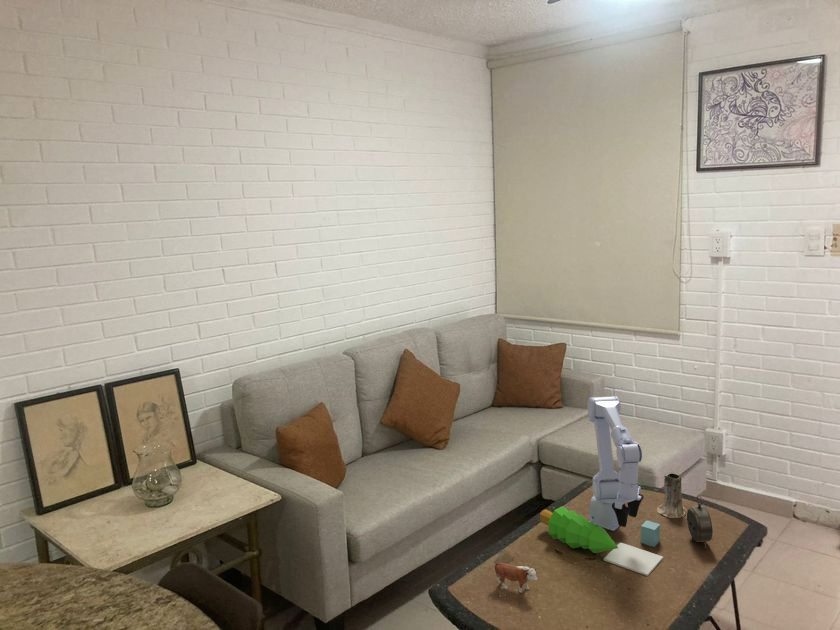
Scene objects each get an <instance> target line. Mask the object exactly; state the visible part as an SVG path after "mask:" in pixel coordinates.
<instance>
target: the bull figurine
mask: <svg viewBox="0 0 840 630" xmlns="http://www.w3.org/2000/svg"><path fill="white" fill-rule="evenodd" d="M536 570H537V567H535V568H532V567H531V568H530V567H528V566H521V565H519V566H518V565H513V564H509V563H504V562H497V563H495V565H494V572H495V574H496V579H497V582H498V584H502V589H504V590H507V591H508V590H509V587H508V586H507V585H506V583H505V579H507V580H509V581H510V582H511V583H513V582H517V583H518V585H519V588H518V592H519V594H522V593H524V592H523V590H522V588H523V586H524V589H526V590H527V591H530V587H529V585H528V584H529V583H530V582H532V581H533V582H537V581H538V577H537V572H536Z"/></svg>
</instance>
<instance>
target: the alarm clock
mask: <svg viewBox="0 0 840 630" xmlns="http://www.w3.org/2000/svg"><path fill="white" fill-rule="evenodd" d="M699 498H700V501H701V503H700V502H699ZM696 501H697V505H694V506H690V507H688V509H687V510H686V511H687V515H686V522H687V529H688V531H689V533H690V537H691V539H690V540H689V541H690V542H693V540H694V541H695V542H697V543H701V542H702V543H703V546H704V549H705V550H708V546H707V542H710V541H711V540H712V538H713V533H714V532H713V530H714V529H713V524H712V518H711V515H710V513H709V511H708V509H707V508H706V506H704V505H703V498H702V496H701V495H700V494H698V495H697V497H696Z"/></svg>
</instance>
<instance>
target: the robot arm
mask: <svg viewBox="0 0 840 630" xmlns="http://www.w3.org/2000/svg"><path fill="white" fill-rule="evenodd" d="M586 406H587V413H588V414H587V415H588V420H589V422H592V423H593V424H594V430H595V438H596V439H595V440H596V447H597V448H596V449H597V456H598V467H599V471H598V472H597V473H595V474H594V476H592V487H591V489H592V494H593V496H592V497H591V499H590V502H589V521H588V522H590V521H592V522H593V523H594V524H595V525H596V526H597V527H598V526H601V527H602V528H603V529H606V530H610V531H613V532H614V531H616V530H617V529H618V528H619V527H622V528H626V527H627V523H628V517H632V518H636V517H637V515H638V512H639V508H640V505H641V503H642V501H643V500H644V495H643V494H641V491H642V489H641V486H640V485H639V463H641V462H642V460H643V451H642V447H641V445H640V443H639V442H637V441H635V440H634V439H633V436H632V435H631V433H630V430H629V428H627V427H626V426H623V423H622V419H621V417H620V413H621V401H620V399H619V397H618V396H617V395H614V396H597V397H595V396H591V397H589V398H588V400H587V405H586ZM610 429H611V432H610ZM612 441H613V444H614V446H615V448H616V451H615V452H616V453H615V454H616V458H617V459H616V460H617V466H618V472H617V471H616V470H615V466H614V465H615V464H614V463H615V462H614V456H613V447H612ZM626 504H627V505H626Z"/></svg>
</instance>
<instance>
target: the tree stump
mask: <svg viewBox="0 0 840 630" xmlns="http://www.w3.org/2000/svg"><path fill="white" fill-rule="evenodd" d="M663 482H664V483H663V486H664V487H663V488H664V498H663V501H662V503H661V504H660V505H658V506H657V508H656V511H657V513H658V514H660V515H662V516H664V517H666V518H669V519H681V517H683V516H684V515H683V514H685V512H687V511H688V510H687V508H686V507H685V506H683V494H682V493H683V492H682V476H681V475H678V474H676V473H669V474H667V475H664V480H663ZM683 518H684V517H683Z"/></svg>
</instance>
